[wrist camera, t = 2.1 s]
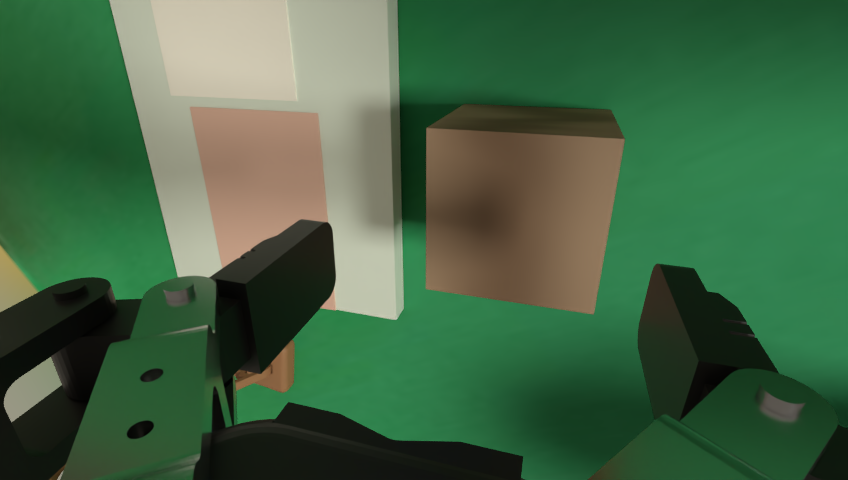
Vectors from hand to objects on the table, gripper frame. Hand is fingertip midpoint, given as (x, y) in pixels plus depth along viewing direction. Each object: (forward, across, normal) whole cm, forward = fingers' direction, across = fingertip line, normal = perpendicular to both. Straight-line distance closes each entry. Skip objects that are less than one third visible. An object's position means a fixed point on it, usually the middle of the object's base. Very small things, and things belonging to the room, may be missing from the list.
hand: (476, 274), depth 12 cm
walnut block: (+10, -1, 0) cm, 10 cm away
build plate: (+10, +12, -1) cm, 16 cm away
